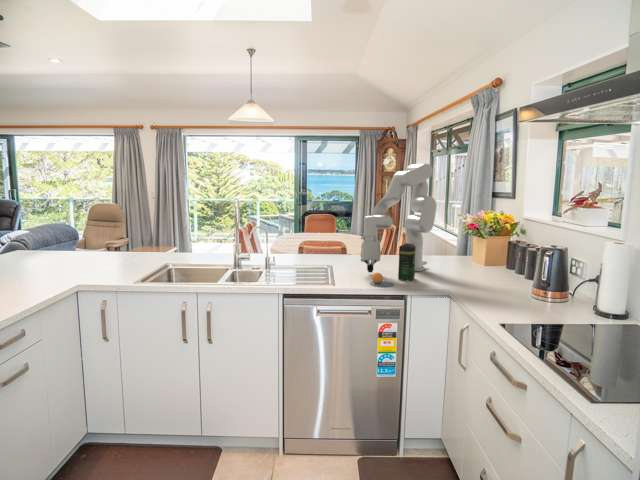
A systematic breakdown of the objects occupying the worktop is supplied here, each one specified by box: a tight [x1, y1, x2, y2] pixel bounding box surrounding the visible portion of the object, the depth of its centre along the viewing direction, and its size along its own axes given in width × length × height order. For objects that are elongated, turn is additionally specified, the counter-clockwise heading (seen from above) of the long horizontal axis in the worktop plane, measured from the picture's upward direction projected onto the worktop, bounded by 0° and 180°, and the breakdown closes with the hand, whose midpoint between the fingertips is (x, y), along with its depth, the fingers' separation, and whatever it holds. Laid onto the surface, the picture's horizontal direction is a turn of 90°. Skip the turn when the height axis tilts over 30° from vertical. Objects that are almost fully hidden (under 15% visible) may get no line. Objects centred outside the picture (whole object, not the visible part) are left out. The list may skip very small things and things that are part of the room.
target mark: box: [369, 280, 395, 288], centre depth 201 cm, size 12×12×1 cm
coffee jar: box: [397, 242, 416, 281], centre depth 211 cm, size 10×8×19 cm
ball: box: [371, 272, 384, 284], centre depth 202 cm, size 6×6×6 cm
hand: (370, 271), depth 223 cm, fingers closed
